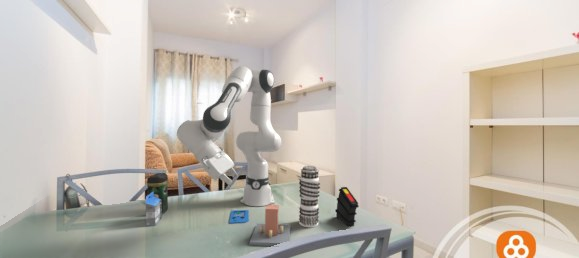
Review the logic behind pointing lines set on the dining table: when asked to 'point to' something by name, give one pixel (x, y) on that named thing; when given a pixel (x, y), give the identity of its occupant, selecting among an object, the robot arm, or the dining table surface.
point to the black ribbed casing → (346, 206)
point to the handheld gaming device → (239, 216)
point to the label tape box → (153, 210)
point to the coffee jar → (159, 188)
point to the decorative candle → (309, 196)
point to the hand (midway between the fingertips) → (234, 180)
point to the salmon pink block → (271, 219)
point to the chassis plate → (270, 236)
